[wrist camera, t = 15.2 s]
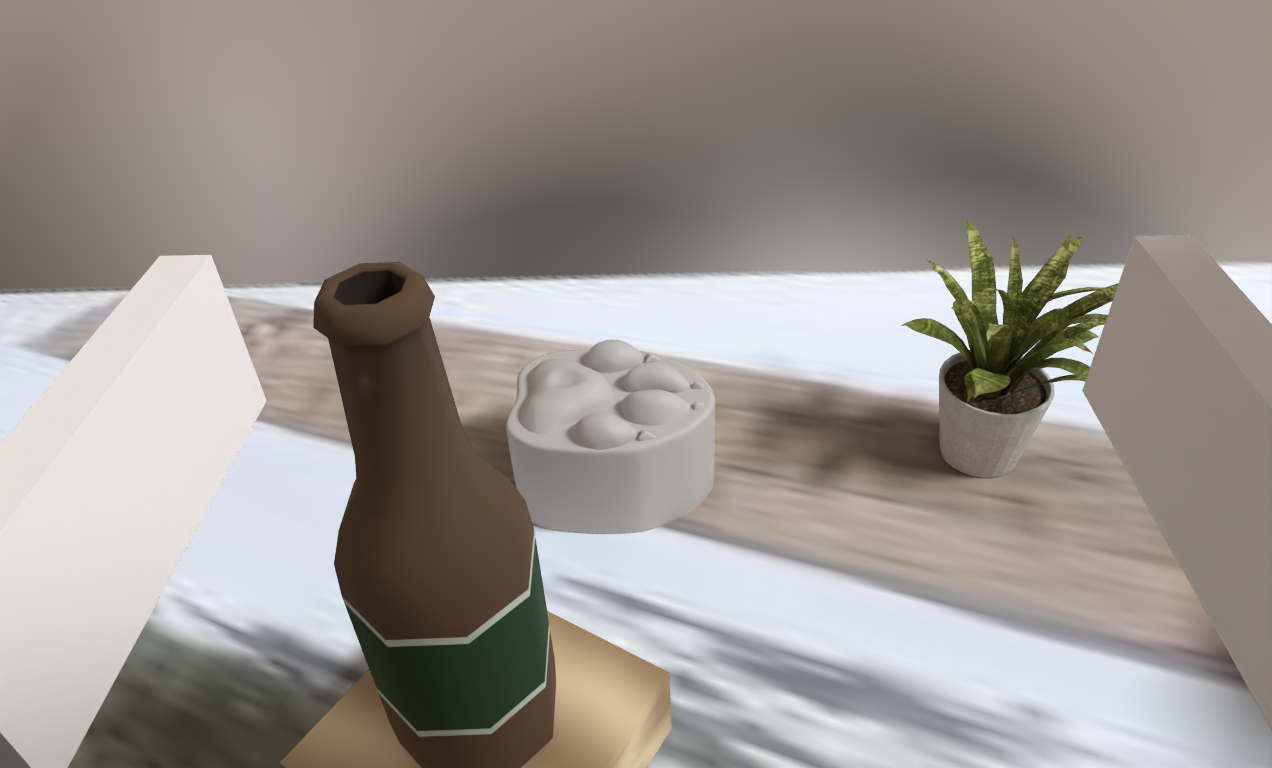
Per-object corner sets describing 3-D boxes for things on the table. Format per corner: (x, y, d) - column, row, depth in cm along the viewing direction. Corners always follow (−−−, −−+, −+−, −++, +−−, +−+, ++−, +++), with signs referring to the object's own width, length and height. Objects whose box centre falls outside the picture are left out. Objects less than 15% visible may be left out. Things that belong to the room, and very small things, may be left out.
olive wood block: (477, 625, 53) (464, 569, 50) (671, 728, 48) (669, 673, 45) (308, 816, 45) (279, 762, 42) (519, 969, 39) (504, 920, 36)
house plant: (1083, 573, 54) (1172, 353, 44) (854, 506, 59) (887, 294, 49) (1102, 427, 64) (1178, 220, 54) (904, 380, 69) (940, 182, 59)
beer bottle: (364, 762, 42) (178, 329, 27) (452, 628, 47) (339, 208, 32) (516, 822, 39) (406, 383, 24) (590, 673, 45) (537, 241, 30)
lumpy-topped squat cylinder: (535, 426, 67) (521, 329, 62) (713, 428, 66) (715, 330, 61) (512, 533, 59) (493, 432, 54) (714, 536, 58) (716, 434, 53)
